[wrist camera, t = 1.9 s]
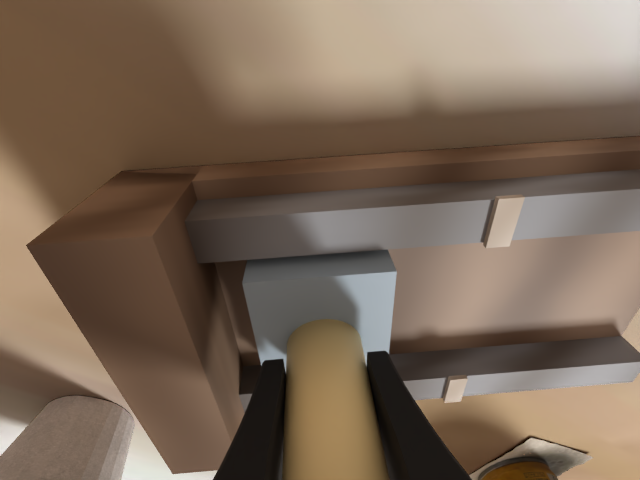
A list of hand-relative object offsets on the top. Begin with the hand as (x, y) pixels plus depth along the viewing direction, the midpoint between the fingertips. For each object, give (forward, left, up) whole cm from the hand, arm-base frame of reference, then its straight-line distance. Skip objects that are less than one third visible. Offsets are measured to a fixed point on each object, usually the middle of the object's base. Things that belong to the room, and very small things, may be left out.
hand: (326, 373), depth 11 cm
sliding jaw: (0, 0, -3) cm, 3 cm away
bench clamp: (-4, 0, -5) cm, 6 cm away
